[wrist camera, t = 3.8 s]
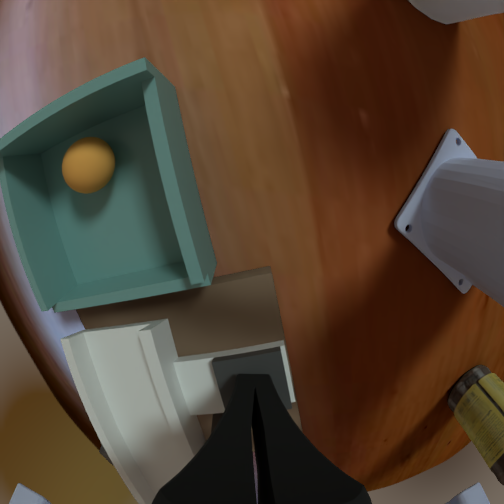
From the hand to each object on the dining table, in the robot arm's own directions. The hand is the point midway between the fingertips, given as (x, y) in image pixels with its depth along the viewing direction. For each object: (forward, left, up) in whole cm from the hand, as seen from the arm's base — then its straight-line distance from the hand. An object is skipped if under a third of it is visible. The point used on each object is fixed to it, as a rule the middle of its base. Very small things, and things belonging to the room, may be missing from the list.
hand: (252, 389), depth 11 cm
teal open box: (+11, -2, -6) cm, 13 cm away
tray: (-1, +6, -2) cm, 7 cm away
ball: (+12, -3, -4) cm, 13 cm away
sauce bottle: (-26, -3, -7) cm, 27 cm away
